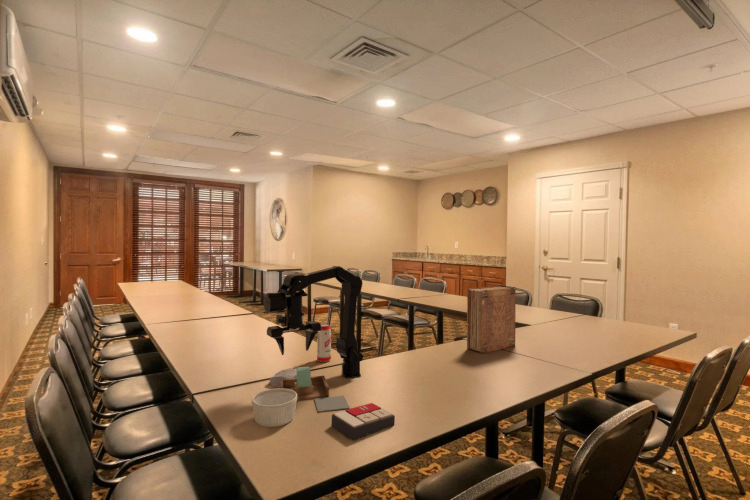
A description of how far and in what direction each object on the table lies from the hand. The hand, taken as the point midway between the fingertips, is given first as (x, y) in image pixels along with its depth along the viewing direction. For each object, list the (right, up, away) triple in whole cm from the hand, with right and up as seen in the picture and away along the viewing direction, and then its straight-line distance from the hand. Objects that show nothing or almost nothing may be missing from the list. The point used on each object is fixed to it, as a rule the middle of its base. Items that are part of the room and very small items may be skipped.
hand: (295, 352), depth 141 cm
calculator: (+25, -14, -28) cm, 40 cm away
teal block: (+4, -10, -4) cm, 12 cm away
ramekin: (-1, -14, -23) cm, 27 cm away
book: (+87, -12, +55) cm, 104 cm away
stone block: (-5, -14, +8) cm, 17 cm away
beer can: (+6, -13, +34) cm, 37 cm away
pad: (+15, -14, -13) cm, 24 cm away
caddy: (+4, -13, -3) cm, 14 cm away
